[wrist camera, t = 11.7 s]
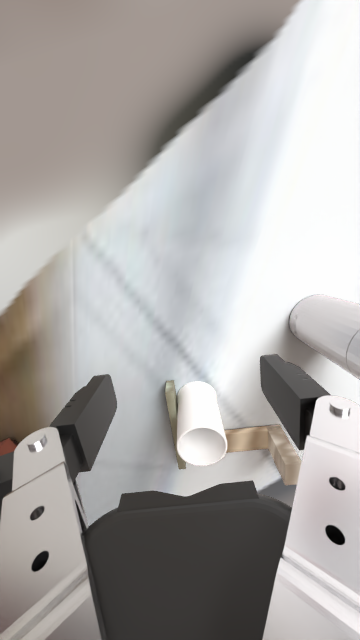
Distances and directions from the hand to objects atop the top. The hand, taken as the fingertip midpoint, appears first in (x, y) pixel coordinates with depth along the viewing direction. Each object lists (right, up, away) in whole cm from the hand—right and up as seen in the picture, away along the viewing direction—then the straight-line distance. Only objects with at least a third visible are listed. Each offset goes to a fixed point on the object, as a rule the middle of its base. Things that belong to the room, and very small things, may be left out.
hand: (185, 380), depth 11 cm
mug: (+4, -15, +34) cm, 37 cm away
